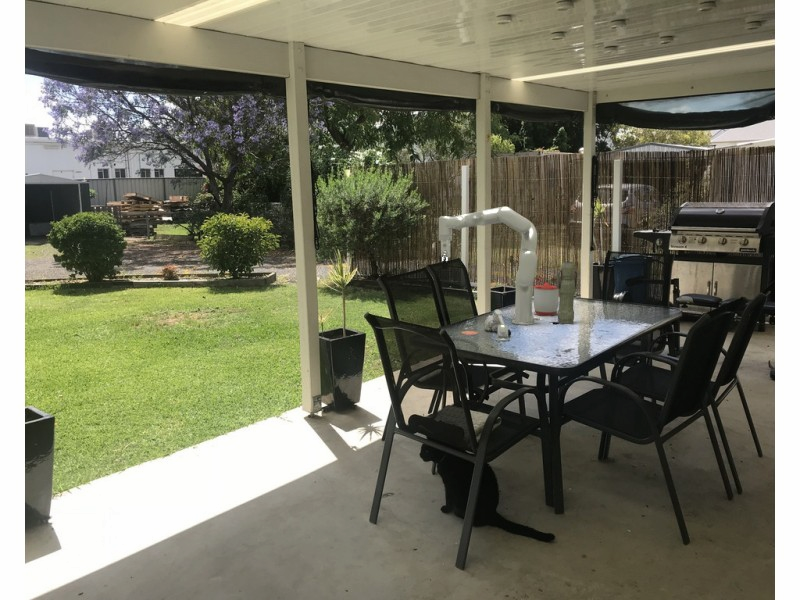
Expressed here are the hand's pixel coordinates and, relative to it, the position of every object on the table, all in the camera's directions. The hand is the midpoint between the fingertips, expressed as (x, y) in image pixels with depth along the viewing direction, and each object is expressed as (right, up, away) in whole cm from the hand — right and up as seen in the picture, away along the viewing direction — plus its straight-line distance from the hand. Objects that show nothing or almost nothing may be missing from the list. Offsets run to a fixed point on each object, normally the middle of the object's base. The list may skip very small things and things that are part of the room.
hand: (445, 267), depth 368 cm
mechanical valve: (+27, -37, -27) cm, 53 cm away
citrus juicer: (+64, -28, +25) cm, 74 cm away
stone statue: (+69, -32, -1) cm, 76 cm away
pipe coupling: (+26, -39, -43) cm, 63 cm away
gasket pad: (+11, -36, -27) cm, 46 cm away
